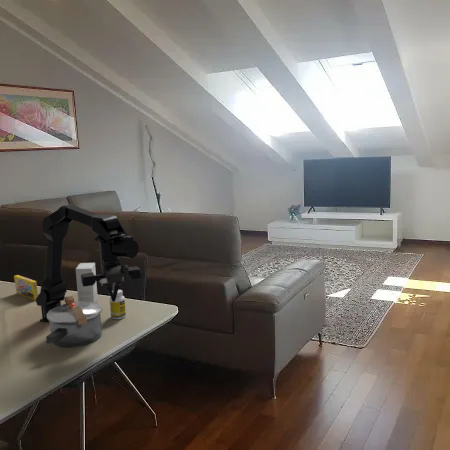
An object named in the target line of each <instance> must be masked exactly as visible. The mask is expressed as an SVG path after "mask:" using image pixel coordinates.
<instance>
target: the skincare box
mask: <svg viewBox="0 0 450 450" xmlns="http://www.w3.org/2000/svg"><path fill="white" fill-rule="evenodd" d="M96 271H97V270H96V262H81V263H79V264H78V265H77V267H75V278H76V287H77V288H76V289H77V299H78V300H77V302H95V303H97V301H98V287H97V282H96V283H95V284H94V285H92V286H83V285H82V283H81V275H82V274H85V273H92V272H93V273H94V275H97V274H96V273H97V272H96Z"/></svg>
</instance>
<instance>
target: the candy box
mask: <svg viewBox="0 0 450 450" xmlns="http://www.w3.org/2000/svg"><path fill="white" fill-rule="evenodd" d="M13 279H14V284H15V292H16V294H17V295H19V296H22V297H25V298H28V299H29V300H32V301H35V302H36V298H37V297H38V295H39V291H38V290H39V289H38V284H37V280H33V279H31V278H29V277H25V276H22V275H19V274H16V275H14V276H13Z"/></svg>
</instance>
